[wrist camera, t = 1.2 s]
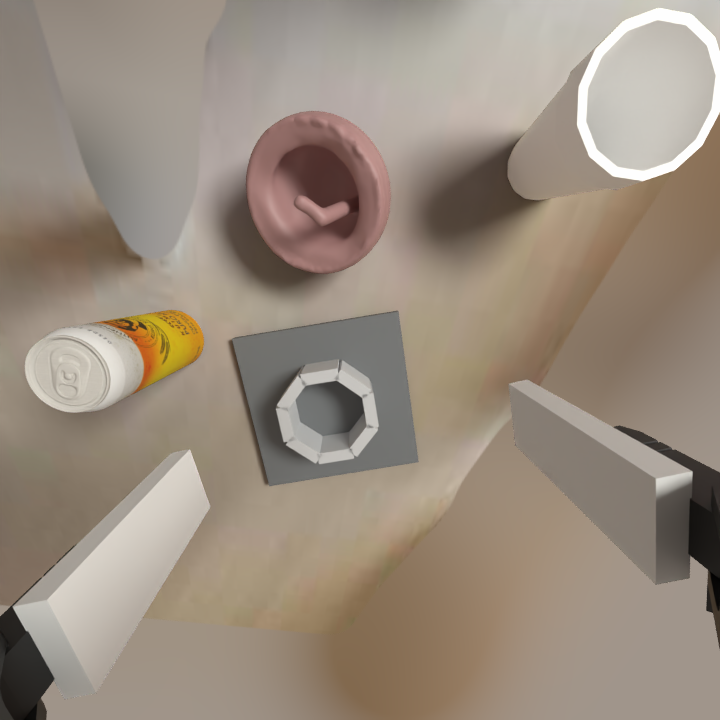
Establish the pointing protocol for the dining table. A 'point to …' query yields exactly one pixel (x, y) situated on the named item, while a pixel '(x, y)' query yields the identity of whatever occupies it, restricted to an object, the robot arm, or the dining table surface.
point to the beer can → (110, 359)
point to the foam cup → (624, 110)
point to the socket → (329, 397)
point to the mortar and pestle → (318, 191)
